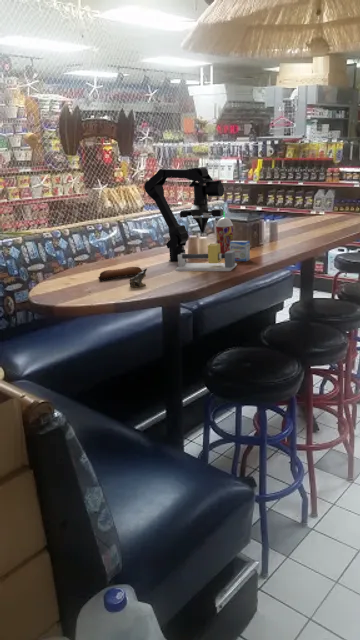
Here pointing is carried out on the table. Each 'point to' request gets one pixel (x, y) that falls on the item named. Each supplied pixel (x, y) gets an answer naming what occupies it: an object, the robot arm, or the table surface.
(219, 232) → the smoothie
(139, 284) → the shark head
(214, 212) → the robot arm
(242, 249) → the medicine box
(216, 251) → the sleeve
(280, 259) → the table surface
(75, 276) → the table surface
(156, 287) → the table surface
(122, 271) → the sweet potato
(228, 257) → the cord rig
